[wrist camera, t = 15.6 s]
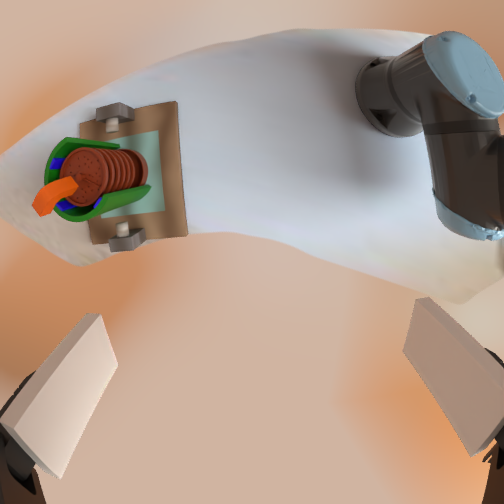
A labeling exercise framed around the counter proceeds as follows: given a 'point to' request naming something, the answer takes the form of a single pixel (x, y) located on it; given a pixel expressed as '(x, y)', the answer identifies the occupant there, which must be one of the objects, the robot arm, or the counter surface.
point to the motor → (90, 179)
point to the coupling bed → (159, 174)
